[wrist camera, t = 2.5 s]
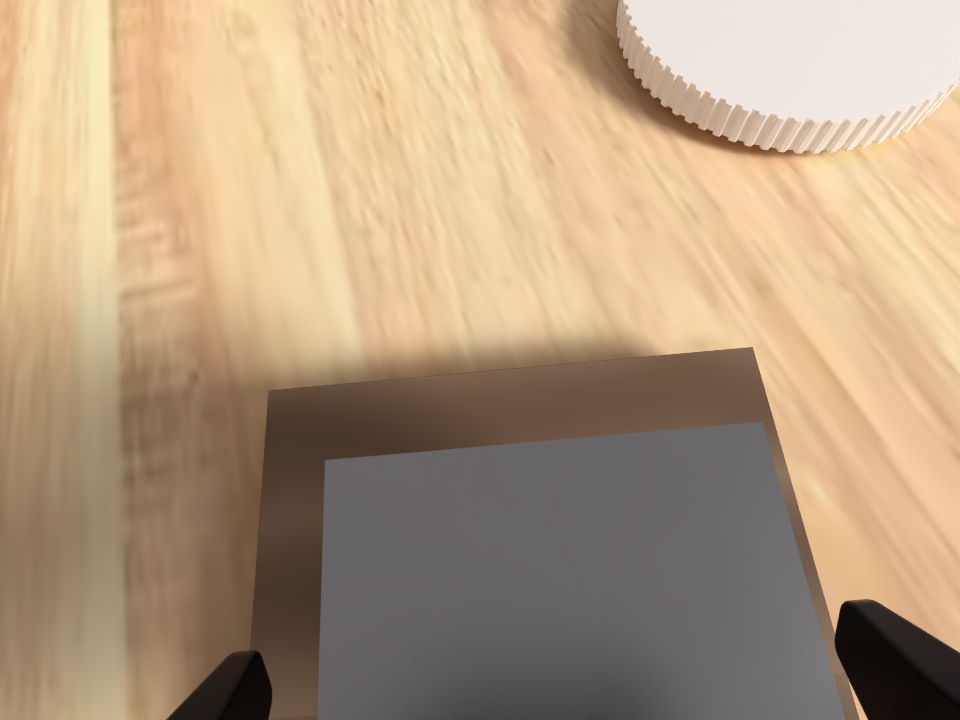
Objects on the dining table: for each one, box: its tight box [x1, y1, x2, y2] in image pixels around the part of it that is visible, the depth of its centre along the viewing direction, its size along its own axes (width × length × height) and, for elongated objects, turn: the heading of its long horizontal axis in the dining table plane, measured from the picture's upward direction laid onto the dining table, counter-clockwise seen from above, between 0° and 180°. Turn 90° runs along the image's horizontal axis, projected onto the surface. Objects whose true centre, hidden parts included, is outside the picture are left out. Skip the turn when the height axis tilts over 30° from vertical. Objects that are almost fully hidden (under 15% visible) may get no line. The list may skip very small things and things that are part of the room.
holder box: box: [250, 347, 859, 720], centre depth 16 cm, size 12×14×3 cm
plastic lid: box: [616, 0, 960, 154], centre depth 24 cm, size 14×14×2 cm
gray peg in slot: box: [317, 422, 845, 720], centre depth 11 cm, size 3×5×12 cm, turn 94°
